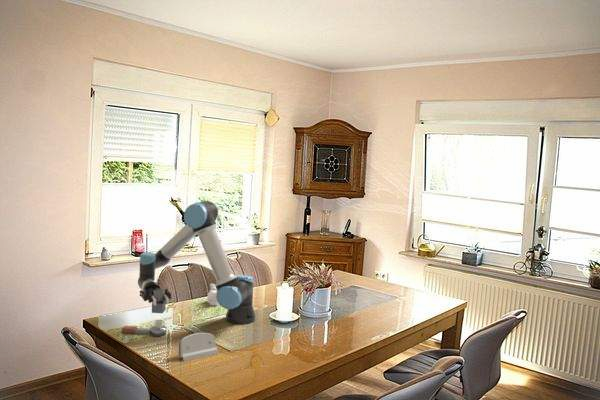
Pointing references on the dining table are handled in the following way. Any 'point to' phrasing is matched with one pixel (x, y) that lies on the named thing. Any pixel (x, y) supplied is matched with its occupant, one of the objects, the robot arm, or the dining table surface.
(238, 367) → the dining table surface
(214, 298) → the rabbit
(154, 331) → the ratchet
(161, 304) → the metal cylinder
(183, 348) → the hinge
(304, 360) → the dining table surface
